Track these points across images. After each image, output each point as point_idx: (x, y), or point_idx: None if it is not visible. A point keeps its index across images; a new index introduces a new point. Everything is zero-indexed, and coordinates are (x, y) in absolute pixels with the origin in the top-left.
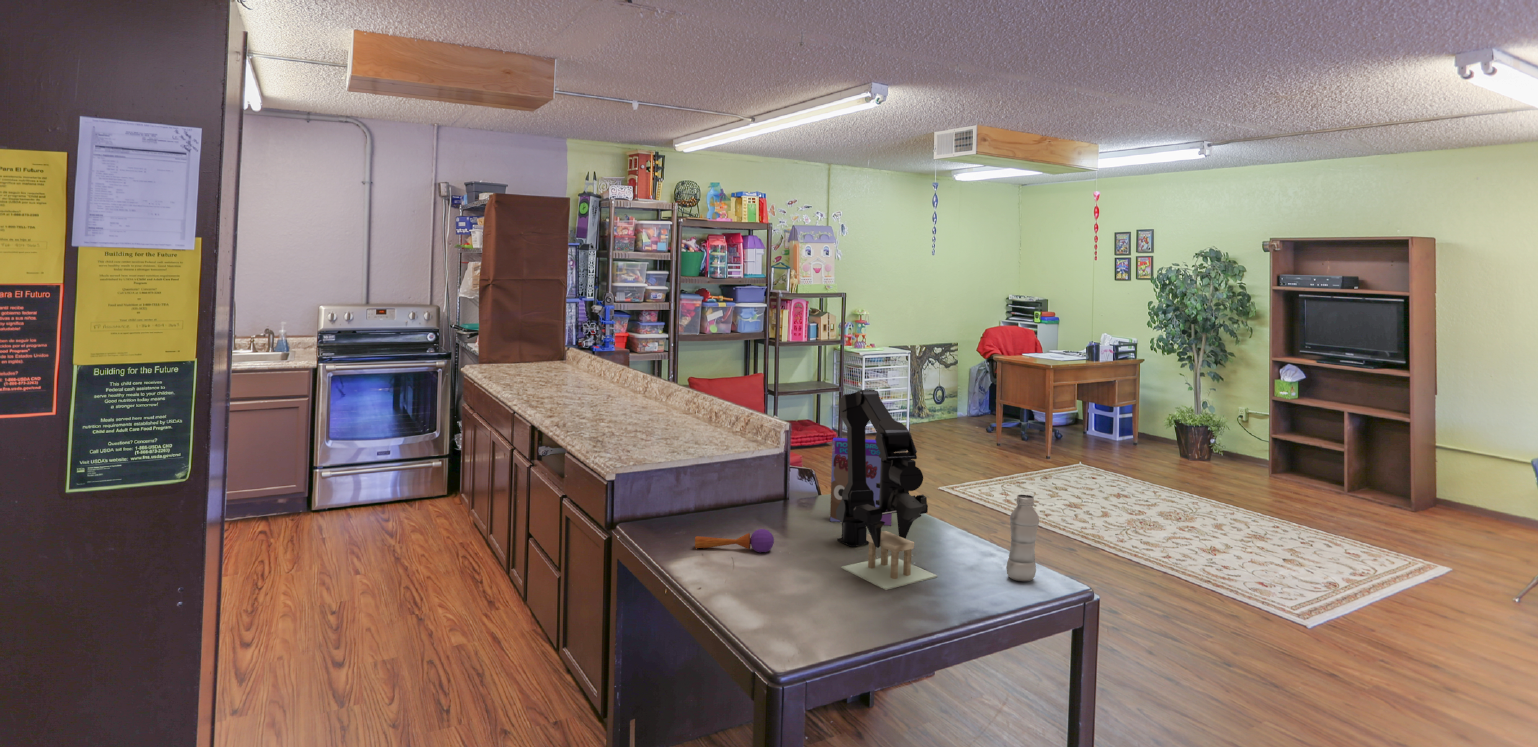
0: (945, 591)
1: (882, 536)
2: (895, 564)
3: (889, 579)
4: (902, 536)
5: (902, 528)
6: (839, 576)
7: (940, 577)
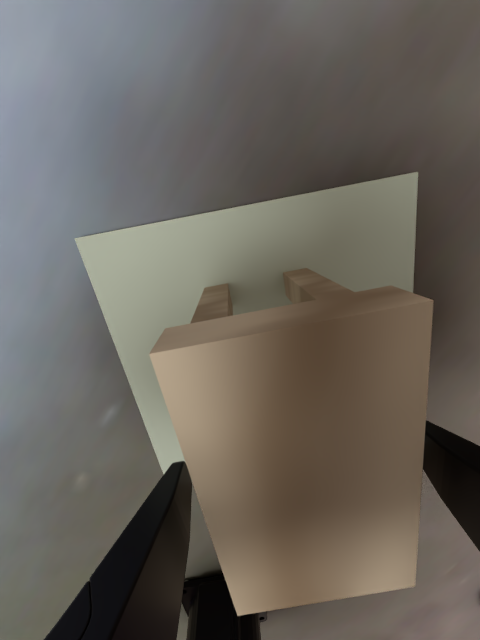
0: (128, 14)
1: (338, 539)
2: (322, 282)
3: (327, 270)
4: (178, 509)
5: (155, 611)
6: (465, 376)
7: (65, 229)
